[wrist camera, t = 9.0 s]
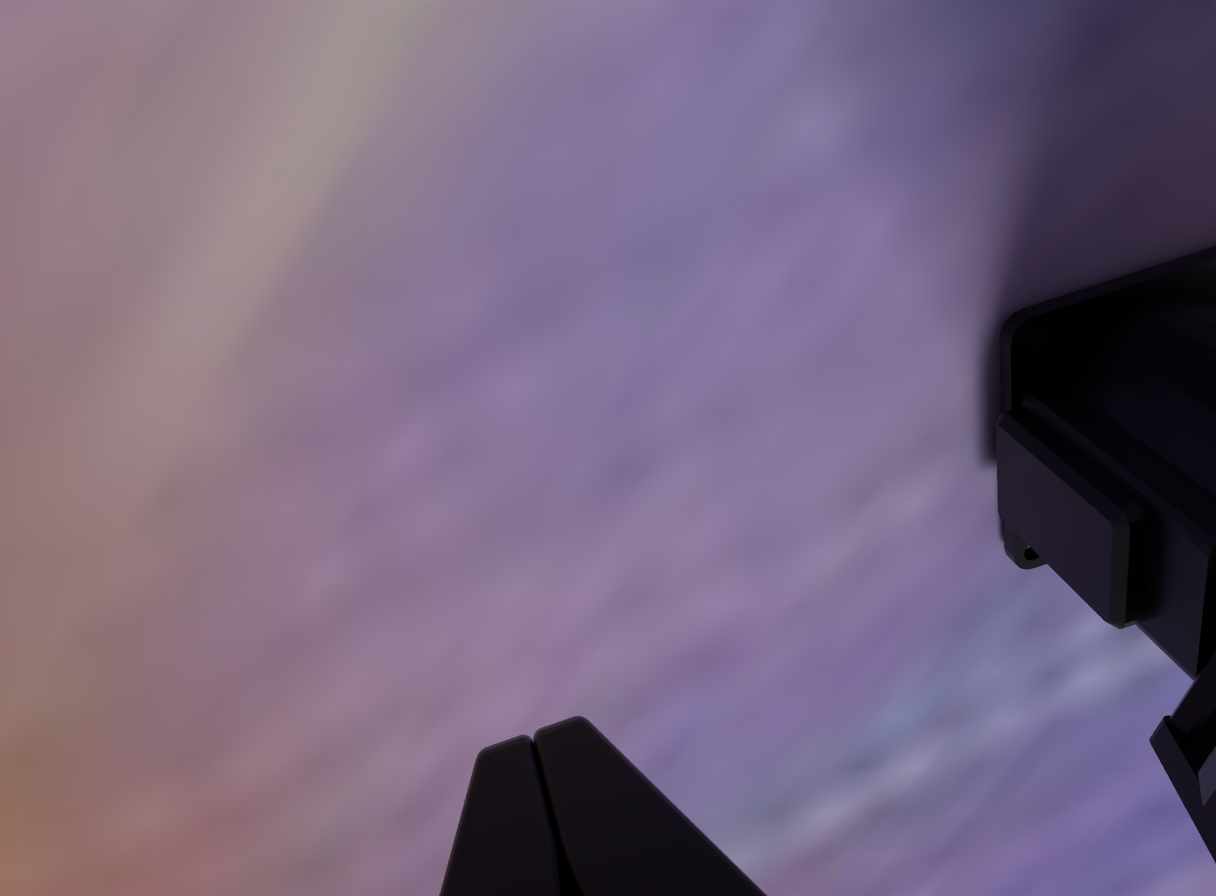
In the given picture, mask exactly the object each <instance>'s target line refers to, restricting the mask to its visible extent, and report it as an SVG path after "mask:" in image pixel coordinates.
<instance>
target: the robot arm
mask: <svg viewBox="0 0 1216 896" xmlns="http://www.w3.org/2000/svg"><path fill="white" fill-rule="evenodd" d="M1033 327H1034V329H1033V333H1032V334H1031V336H1030V337H1029V338H1028V339H1027V340H1025V341H1023V342H1022V339H1023V336H1024V335H1025V333H1026V332H1027V331H1028V330H1030V329H1032V328H1033ZM1000 374H1001V415H1000V417H999V420H998V423H997V425H996V442H997V481H998V513H999V516H1000V517H1001V518H1002V519H1003V520H1004V548H1005V552H1006V555H1007V556H1008V557H1009V558H1010V559H1011V560H1012V561H1013V562H1014V563H1015V564H1016V565H1017V566H1018V567H1020V568H1022V569H1032V568H1036V567H1039V566H1042V565H1044V564H1048V565H1049V566H1050V567H1051V568H1052V569H1053V570H1054V571H1055V572H1056V573H1057V574H1058V575H1059V576H1060V577H1061V578H1062V579H1063V580H1064V581H1065V582H1066V583H1067V584H1068V585H1069V586H1070V587H1071V588H1072V589H1073V590H1074V591H1075V592H1076V593H1077V594H1078V595H1079V596H1080V597H1081V598H1082V599H1083V600H1084V601H1085V602H1086V603H1087V604H1088V605H1089V606H1090V607H1091V608H1092V609H1093V610H1094V611H1095V612H1096V613H1097V614H1098V615H1099V616H1100V617H1101V618H1102V619H1103V620H1104V621H1105V622H1107V623H1109V624H1111V625H1113V626H1114V627H1116V628H1118V629H1123V628H1126V627H1129V626H1132V625H1134V624H1135V625H1136V626H1137V627H1138V628H1139V629H1141V630H1142V631H1143V632H1144V633H1145V634H1146V635H1147V636H1148V637H1149V638H1150V639H1151V640H1152V641H1153V642H1154V643H1155V644H1156V645H1157V646H1158V647H1159V648H1160V649H1161V650H1162V651H1163V652H1164V653H1165V654H1167V655H1168V656H1169V657H1170V658H1171V659H1172V660H1173V661H1174V662H1175V663H1176V664H1177V665H1178V666H1179V667H1180V668H1181V669H1182V670H1183V671H1184V672H1185V673H1186V674H1187V675H1188V676H1189V677H1190V678H1191V679H1193V680H1194V682H1193V683H1192V685H1191V686H1190V688H1189V689H1188V691H1187V692H1186V694H1185V695H1184V697H1183V698H1182V700H1181V701H1180V703H1179V705H1178V706H1177V708H1176V709H1175V711H1174V712H1173V714H1172V715H1171V716H1164V718H1163V719H1162V721H1161V722H1160V724H1159V725H1158V727H1157V728H1156V730H1155V731H1154V733H1153V734H1152V736H1151V737H1150V739H1149V740H1150V743H1151V745H1152V747H1153V749H1154V751H1155V753H1156V754H1157V756H1158V758H1159V760H1160V762H1161V764H1162V765H1163V767H1164V769H1165V771H1166V773H1167V775H1168V776H1169V778H1170V780H1171V782H1172V784H1173V786H1174V787H1175V789H1176V791H1177V793H1178V795H1179V797H1180V798H1181V800H1182V802H1183V804H1184V806H1185V808H1186V809H1187V811H1188V813H1189V815H1190V817H1191V819H1192V820H1193V822H1194V824H1195V826H1196V828H1197V830H1198V831H1199V833H1200V835H1201V837H1202V839H1203V841H1204V842H1205V844H1206V846H1207V848H1208V850H1209V852H1210V853H1211V855H1212V857H1213V859H1214V861H1215V863H1216V247H1213V248H1210V249H1207V250H1204V251H1201V252H1198V253H1195V254H1192V255H1189V256H1185V257H1182V258H1179V259H1176V260H1173V261H1170V262H1167V263H1164V264H1161V265H1157V266H1154V267H1151V268H1148V269H1145V270H1142V271H1139V272H1136V273H1133V274H1129V275H1126V276H1123V277H1120V278H1117V279H1114V280H1111V281H1108V282H1105V283H1102V284H1098V285H1095V286H1092V287H1089V288H1086V289H1083V290H1080V291H1077V292H1074V293H1070V294H1067V295H1064V296H1061V297H1058V298H1055V299H1052V300H1049V301H1046V302H1042V303H1039V304H1036V305H1033V306H1030V307H1027V308H1024V309H1021V310H1019V311H1017V312H1015V313H1013V314H1012V315H1011V316H1010V317H1009V318H1008V319H1007V320H1006V322H1005V323H1004V325H1003V327H1002V329H1001V334H1000ZM1028 546H1030V547H1029V548H1027V547H1028ZM1026 548H1027V549H1026ZM533 739H534V742H533V740H532V739H531V738H530V737H529V736H527V735H520V736H517V737H514V738H511V739H508V740H505V741H503V742H500V743H497V744H494V745H491V746H488V747H486V748H484V749H482V750H481V751H480V753H479V754H478V756H477V758H476V761H475V765H474V768H473V772H472V776H471V779H470V783H469V787H468V791H467V794H466V798H465V802H464V806H463V809H462V813H461V817H460V821H459V824H458V828H457V832H456V836H455V839H454V843H453V847H452V850H451V854H450V858H449V862H448V865H447V869H446V873H445V877H444V880H443V884H442V888H441V892H440V895H439V896H767V895H766V894H765V893H764V892H763V891H762V890H761V889H760V888H759V887H758V886H757V885H756V884H755V883H754V882H753V881H752V880H751V879H750V878H749V877H748V876H747V875H746V874H745V873H744V872H743V871H741V870H740V869H739V868H738V867H737V866H736V865H735V864H734V863H733V862H732V861H731V860H730V859H729V858H728V857H727V856H726V855H725V854H724V853H723V852H722V851H721V850H720V849H719V848H718V847H717V846H716V845H715V844H714V843H713V842H712V841H711V840H710V839H709V838H708V837H707V836H706V835H705V834H704V833H703V832H702V831H701V830H700V829H699V828H698V827H697V826H696V825H695V824H694V823H693V822H692V821H691V820H690V819H689V818H688V817H687V816H686V815H684V814H683V813H682V812H681V811H680V810H679V809H678V808H677V807H676V806H675V805H674V804H673V803H672V802H671V801H670V800H669V799H668V798H667V797H666V796H665V795H664V794H663V793H662V792H661V791H660V790H659V789H658V788H657V787H656V786H655V785H654V784H653V783H652V782H651V781H650V780H649V779H648V778H647V777H646V776H645V775H644V774H643V773H642V772H641V771H640V770H639V769H638V768H637V767H636V766H635V765H634V764H633V763H632V762H631V761H630V760H629V759H627V758H626V757H625V756H624V755H623V754H622V753H621V752H620V751H619V750H618V749H617V748H616V747H615V746H614V745H613V744H612V743H611V742H610V741H609V740H608V739H607V738H606V737H605V736H604V735H603V734H602V733H601V732H600V731H599V730H598V729H597V728H596V727H595V726H594V725H593V724H592V723H591V722H590V721H589V720H587V719H586V718H584V717H582V716H574V717H572V718H569V719H566V720H563V721H560V722H557V723H554V724H551V725H548V726H546V727H543V728H540V729H538V730H537V731H536V732H535V734H534V738H533Z"/></svg>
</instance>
